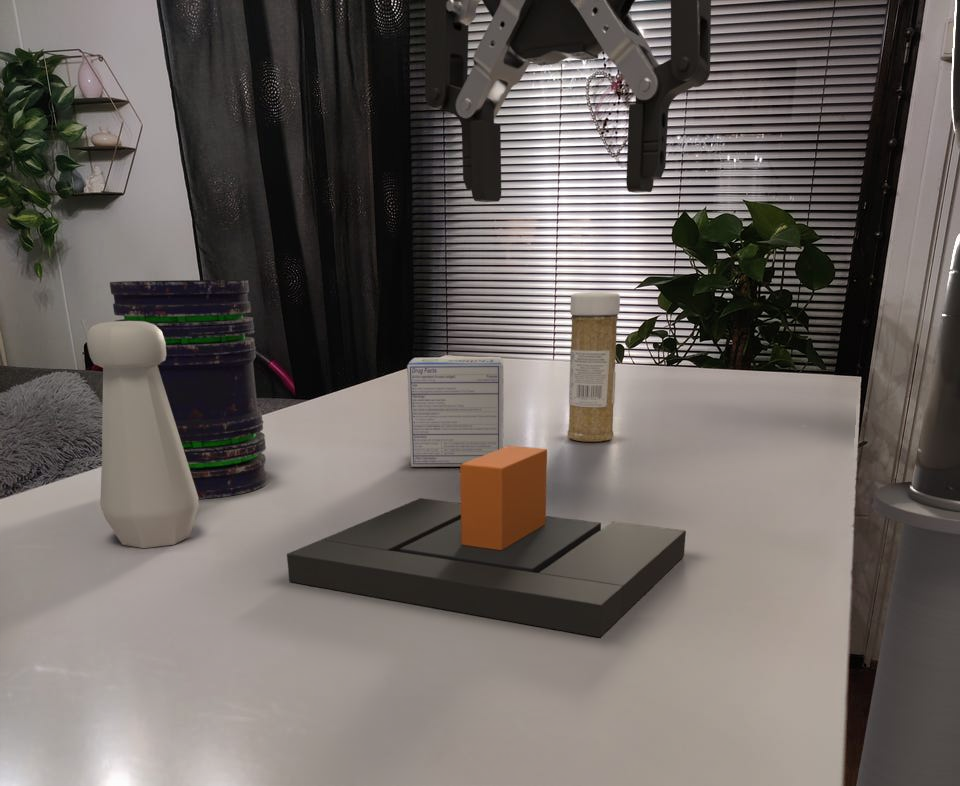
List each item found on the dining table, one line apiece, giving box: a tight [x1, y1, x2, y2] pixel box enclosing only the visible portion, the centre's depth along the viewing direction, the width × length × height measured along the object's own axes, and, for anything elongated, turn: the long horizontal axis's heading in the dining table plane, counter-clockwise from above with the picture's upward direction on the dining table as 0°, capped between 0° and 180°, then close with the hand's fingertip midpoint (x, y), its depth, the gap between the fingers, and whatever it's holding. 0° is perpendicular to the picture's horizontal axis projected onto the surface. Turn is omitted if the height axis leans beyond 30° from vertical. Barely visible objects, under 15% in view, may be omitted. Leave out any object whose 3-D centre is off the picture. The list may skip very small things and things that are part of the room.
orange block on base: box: [400, 445, 602, 573], centre depth 51 cm, size 10×8×6 cm
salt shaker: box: [86, 320, 199, 549], centre depth 55 cm, size 6×6×13 cm
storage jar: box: [109, 279, 268, 500], centre depth 69 cm, size 10×10×15 cm
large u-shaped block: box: [286, 497, 687, 638], centre depth 51 cm, size 14×18×2 cm
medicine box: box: [406, 356, 505, 468], centre depth 77 cm, size 8×4×9 cm, turn 88°
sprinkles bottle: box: [567, 291, 621, 443], centre depth 86 cm, size 5×5×14 cm
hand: (559, 196), depth 47 cm, fingers open, 8 cm apart
